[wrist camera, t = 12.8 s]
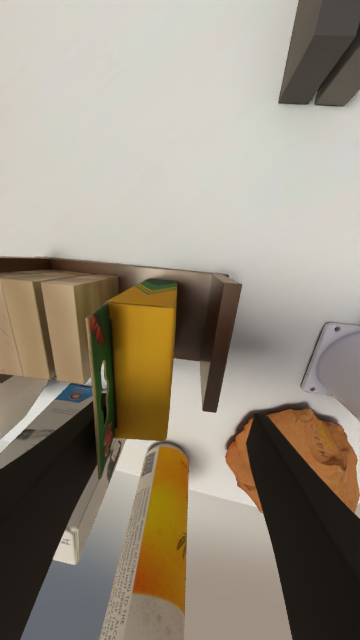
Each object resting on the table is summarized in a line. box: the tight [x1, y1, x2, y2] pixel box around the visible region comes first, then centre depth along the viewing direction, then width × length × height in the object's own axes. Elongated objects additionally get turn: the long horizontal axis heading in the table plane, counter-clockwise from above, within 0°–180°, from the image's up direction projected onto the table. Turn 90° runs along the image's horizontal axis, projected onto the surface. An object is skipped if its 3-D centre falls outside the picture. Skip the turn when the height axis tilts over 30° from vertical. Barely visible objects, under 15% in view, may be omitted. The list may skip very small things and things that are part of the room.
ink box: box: [0, 384, 126, 565], centre depth 17 cm, size 8×5×12 cm, turn 80°
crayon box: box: [85, 279, 177, 480], centre depth 12 cm, size 7×3×12 cm, turn 175°
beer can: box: [100, 443, 189, 640], centre depth 18 cm, size 6×6×15 cm
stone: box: [225, 409, 360, 514], centre depth 20 cm, size 15×15×10 cm
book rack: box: [0, 256, 242, 413], centre depth 15 cm, size 18×9×8 cm, turn 85°
